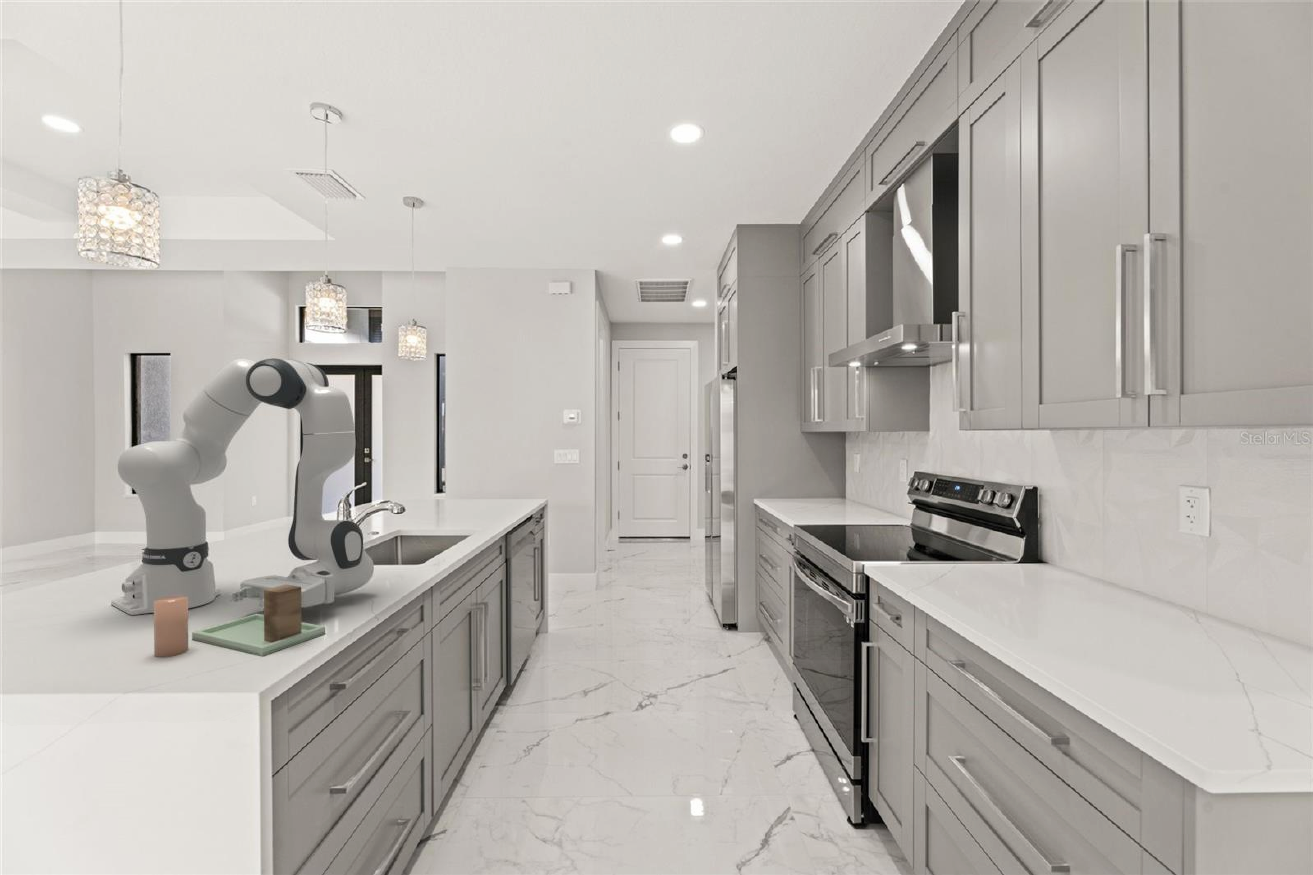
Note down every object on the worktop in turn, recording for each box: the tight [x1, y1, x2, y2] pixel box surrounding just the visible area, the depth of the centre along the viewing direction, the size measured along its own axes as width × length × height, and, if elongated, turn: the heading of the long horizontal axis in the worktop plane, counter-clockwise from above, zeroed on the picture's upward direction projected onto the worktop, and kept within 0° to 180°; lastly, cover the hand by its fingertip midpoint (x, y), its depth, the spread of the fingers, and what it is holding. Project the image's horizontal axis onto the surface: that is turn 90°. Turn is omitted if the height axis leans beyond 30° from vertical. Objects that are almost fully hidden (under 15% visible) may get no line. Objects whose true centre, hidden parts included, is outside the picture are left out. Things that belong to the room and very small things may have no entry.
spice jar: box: [153, 595, 189, 658], centre depth 114 cm, size 5×5×10 cm
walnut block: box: [263, 585, 303, 643], centre depth 119 cm, size 4×4×10 cm
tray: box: [191, 613, 326, 657], centre depth 122 cm, size 21×13×2 cm, turn 67°
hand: (246, 600), depth 126 cm, fingers open, 8 cm apart
